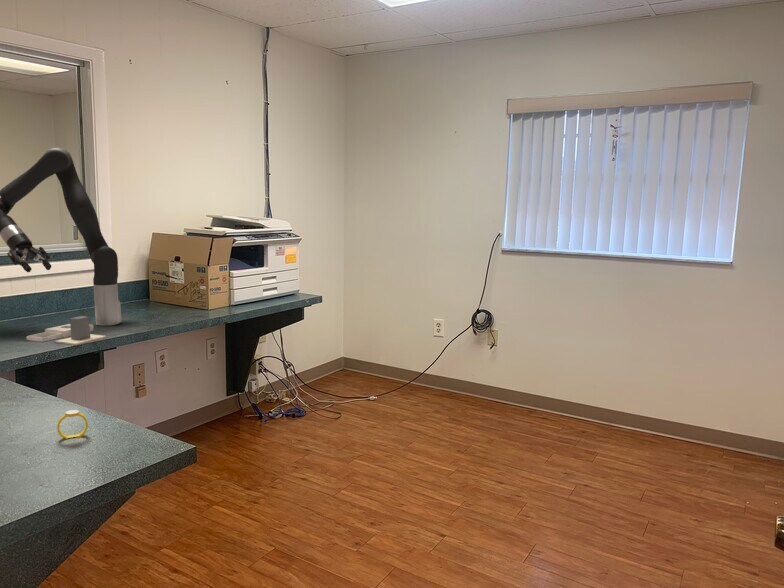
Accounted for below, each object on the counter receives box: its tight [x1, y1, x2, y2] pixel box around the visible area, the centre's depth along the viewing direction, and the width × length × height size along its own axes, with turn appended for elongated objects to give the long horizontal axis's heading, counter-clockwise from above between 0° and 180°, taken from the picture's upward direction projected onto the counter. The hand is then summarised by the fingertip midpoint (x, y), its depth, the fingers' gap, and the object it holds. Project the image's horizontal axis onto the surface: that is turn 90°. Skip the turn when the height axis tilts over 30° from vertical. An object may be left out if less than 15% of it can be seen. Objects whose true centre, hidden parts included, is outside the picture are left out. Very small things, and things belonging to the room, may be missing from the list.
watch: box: [56, 409, 89, 440], centre depth 133 cm, size 6×3×6 cm, turn 119°
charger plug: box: [69, 315, 91, 340], centre depth 225 cm, size 5×4×8 cm
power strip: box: [26, 323, 94, 343], centre depth 233 cm, size 22×10×3 cm, turn 159°
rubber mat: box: [55, 333, 107, 346], centre depth 226 cm, size 14×10×1 cm
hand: (40, 269), depth 231 cm, fingers open, 8 cm apart
